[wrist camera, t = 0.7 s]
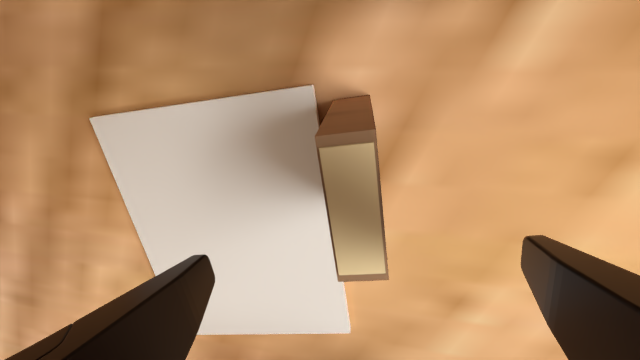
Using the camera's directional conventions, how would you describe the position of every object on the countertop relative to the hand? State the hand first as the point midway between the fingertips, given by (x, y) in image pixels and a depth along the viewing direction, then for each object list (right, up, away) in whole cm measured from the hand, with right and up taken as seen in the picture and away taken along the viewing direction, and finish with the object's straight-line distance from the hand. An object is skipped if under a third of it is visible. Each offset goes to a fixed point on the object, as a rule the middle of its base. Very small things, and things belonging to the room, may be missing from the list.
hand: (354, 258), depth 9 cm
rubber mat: (-7, -1, +13) cm, 15 cm away
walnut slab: (+1, +4, +10) cm, 11 cm away
